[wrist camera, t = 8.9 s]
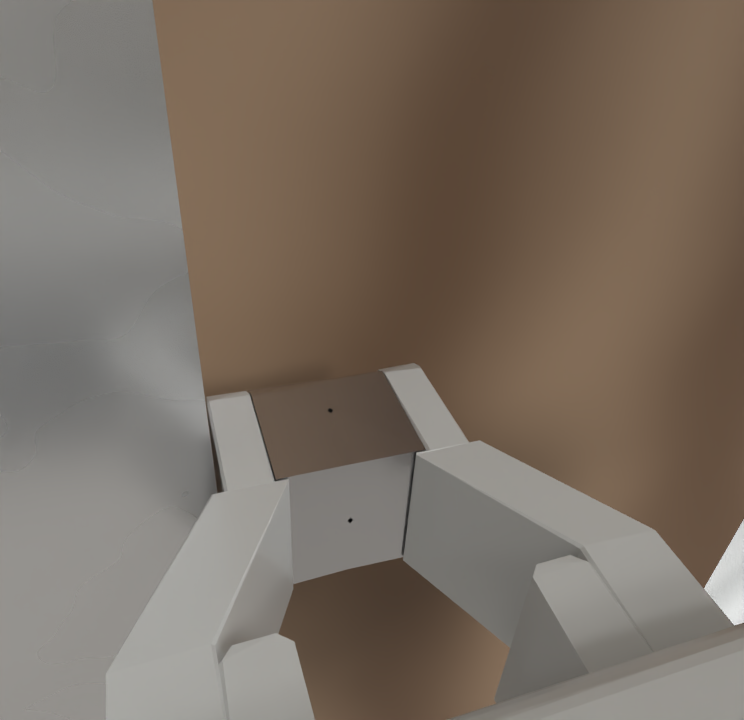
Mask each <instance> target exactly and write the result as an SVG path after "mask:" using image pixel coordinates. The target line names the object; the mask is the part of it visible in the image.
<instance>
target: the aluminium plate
mask: <svg viewBox="0 0 744 720" xmlns="http://www.w3.org/2000/svg"><path fill="white" fill-rule="evenodd" d="M216 493H217V486H216V478H215V471H214V463H213V456H212V448H211V441H210V433H209V425H208V418H207V410H206V403H205V395H204V388H203V380H202V373H201V365H200V357H199V350H198V342H197V335H196V327H195V320H194V312H193V304H192V297H191V289H190V282H189V274H188V267H187V259H186V252H185V244H184V236H183V229H182V221H181V214H180V206H179V199H178V191H177V183H176V176H175V168H174V161H173V153H172V146H171V138H170V131H169V123H168V115H167V108H166V100H165V93H164V85H163V78H162V70H161V63H160V55H159V47H158V40H157V32H156V25H155V17H154V10H153V2H152V0H0V720H106V673H107V671H108V670H109V668H110V666H111V664H112V663H113V661H114V659H115V658H116V656H117V654H118V653H119V651H120V649H121V647H122V646H123V644H124V642H125V641H126V639H127V637H128V636H129V634H130V632H131V631H132V629H133V627H134V625H135V624H136V622H137V620H138V619H139V617H140V615H141V614H142V612H143V610H144V608H145V607H146V605H147V603H148V602H149V600H150V598H151V597H152V595H153V593H154V592H155V590H156V588H157V586H158V585H159V583H160V581H161V580H162V578H163V576H164V575H165V573H166V571H167V569H168V568H169V566H170V564H171V563H172V561H173V559H174V558H175V556H176V554H177V552H178V551H179V549H180V547H181V546H182V544H183V542H184V541H185V539H186V537H187V536H188V534H189V532H190V530H191V529H192V527H193V525H194V524H195V522H196V520H197V519H198V517H199V515H200V513H201V512H202V510H203V508H204V507H205V505H206V503H207V502H208V500H209V498H210V497H211V495H212V494H216Z"/></svg>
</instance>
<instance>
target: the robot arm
mask: <svg viewBox="0 0 744 720" xmlns="http://www.w3.org/2000/svg"><path fill="white" fill-rule="evenodd" d="M206 406H207V414H208V422H209V430H210V438H211V446H212V454H213V462H214V469H215V476H216V483H217V490H218V493H216V494H212V495H211V497H210V498H209V500H208V502H207V503H206V505H205V507H204V508H203V510H202V512H201V513H200V515H199V517H198V519H197V520H196V522H195V524H194V525H193V527H192V529H191V530H190V532H189V534H188V536H187V537H186V539H185V541H184V542H183V544H182V546H181V547H180V549H179V551H178V552H177V554H176V556H175V558H174V559H173V561H172V563H171V564H170V566H169V568H168V569H167V571H166V573H165V575H164V576H163V578H162V580H161V581H160V583H159V585H158V586H157V588H156V590H155V592H154V593H153V595H152V597H151V598H150V600H149V602H148V603H147V605H146V607H145V608H144V610H143V612H142V614H141V615H140V617H139V619H138V620H137V622H136V624H135V625H134V627H133V629H132V631H131V632H130V634H129V636H128V637H127V639H126V641H125V642H124V644H123V646H122V647H121V649H120V651H119V653H118V654H117V656H116V658H115V659H114V661H113V663H112V664H111V666H110V668H109V670H108V671H107V673H106V720H315V718H314V714H313V710H312V706H311V703H310V699H309V695H308V691H307V687H306V684H305V680H304V676H303V672H302V669H301V665H300V661H299V657H298V653H297V650H296V646H295V642H294V641H292V640H290V639H288V638H286V637H283V636H281V635H279V634H278V633H279V630H280V627H281V624H282V621H283V618H284V615H285V612H286V609H287V606H288V603H289V600H290V597H291V594H292V591H293V584H296V583H299V582H303V581H307V580H310V579H314V578H318V577H321V576H325V575H328V574H332V573H336V572H339V571H343V570H347V569H351V568H355V567H360V566H365V565H369V564H374V563H378V562H383V561H388V560H392V559H397V558H401V557H403V561H405V562H406V563H407V564H408V565H409V566H411V567H412V568H413V569H414V570H416V571H417V572H418V573H419V574H420V575H422V576H423V577H424V578H425V579H427V580H428V581H429V582H430V583H431V584H433V585H434V586H435V587H436V588H438V589H439V590H440V591H441V592H442V593H444V594H445V595H446V596H447V597H449V598H450V599H451V600H452V601H453V602H455V603H456V604H457V605H458V606H460V607H461V608H462V609H463V610H464V611H466V612H467V613H468V614H469V615H471V616H472V617H473V618H474V619H475V620H477V621H478V622H479V623H480V624H482V625H483V626H484V627H485V628H486V629H488V630H489V631H490V632H491V633H493V634H494V635H495V636H496V637H497V638H499V639H500V640H501V641H502V642H504V643H505V644H506V645H507V646H508V647H510V650H509V653H508V656H507V660H506V663H505V666H504V669H503V672H502V675H501V679H500V682H499V685H498V688H497V691H496V694H495V698H494V700H495V702H496V704H493V705H490V706H487V707H484V708H481V709H478V710H475V711H471V712H468V713H465V714H462V715H459V716H456V717H453V718H450V719H447V720H744V623H742V624H738V625H735V626H734V625H733V624H732V622H731V621H730V620H729V619H728V618H727V616H726V615H725V614H724V613H723V611H722V610H721V609H720V608H719V607H718V605H717V604H716V603H715V602H714V601H713V599H712V598H711V597H710V596H709V595H708V593H707V592H706V591H705V590H704V588H703V587H702V586H701V585H700V584H699V582H698V581H697V580H696V579H695V578H694V576H693V575H692V574H691V573H690V572H689V570H688V569H687V568H686V567H685V566H684V564H683V563H682V562H681V561H680V559H679V558H678V557H677V556H676V555H675V553H674V552H673V551H672V550H671V549H670V547H669V546H668V545H667V544H666V543H665V541H664V540H663V539H662V538H661V536H660V535H659V534H658V533H657V532H656V530H654V529H652V528H650V527H648V526H646V525H644V524H642V523H640V522H638V521H636V520H634V519H632V518H631V517H629V516H627V515H625V514H623V513H621V512H619V511H617V510H615V509H613V508H611V507H609V506H607V505H605V504H603V503H601V502H599V501H597V500H595V499H593V498H591V497H589V496H588V495H586V494H584V493H582V492H580V491H578V490H576V489H574V488H572V487H570V486H568V485H566V484H564V483H562V482H560V481H558V480H556V479H554V478H552V477H550V476H548V475H546V474H545V473H543V472H541V471H539V470H537V469H535V468H533V467H531V466H529V465H527V464H525V463H523V462H521V461H519V460H517V459H515V458H513V457H511V456H509V455H507V454H505V453H503V452H502V451H500V450H498V449H496V448H494V447H492V446H490V445H488V444H486V443H484V442H482V441H480V440H479V441H474V442H469V441H468V440H467V438H466V437H465V435H464V434H463V432H462V430H461V429H460V427H459V426H458V424H457V423H456V421H455V420H454V418H453V417H452V415H451V413H450V412H449V410H448V409H447V407H446V406H445V404H444V403H443V401H442V400H441V398H440V396H439V395H438V393H437V392H436V390H435V389H434V387H433V386H432V384H431V383H430V381H429V380H428V378H427V376H426V375H425V373H424V372H423V370H422V369H421V367H420V366H418V365H417V364H415V363H411V364H406V365H400V366H395V367H389V368H384V369H379V370H378V371H373V372H367V373H361V374H355V375H349V376H343V377H337V378H331V379H324V380H317V381H309V382H302V383H295V384H288V385H281V386H273V387H266V388H259V389H252V390H248V392H247V391H241V392H234V393H227V394H221V395H214V396H207V397H206Z"/></svg>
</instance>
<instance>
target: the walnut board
mask: <svg viewBox="0 0 744 720" xmlns="http://www.w3.org/2000/svg"><path fill="white" fill-rule="evenodd" d="M152 2H153V10H154V17H155V25H156V32H157V40H158V47H159V55H160V63H161V70H162V78H163V85H164V93H165V100H166V108H167V115H168V123H169V131H170V138H171V146H172V153H173V161H174V168H175V176H176V183H177V191H178V199H179V206H180V214H181V221H182V229H183V236H184V244H185V252H186V259H187V267H188V274H189V282H190V289H191V297H192V304H193V312H194V320H195V327H196V335H197V342H198V350H199V357H200V365H201V373H202V380H203V388H204V395H205V403H206V397H207V396H214V395H221V394H227V393H234V392H241V391H247V392H248V390H252V389H259V388H266V387H273V386H281V385H288V384H295V383H302V382H309V381H317V380H324V379H331V378H337V377H343V376H349V375H355V374H361V373H367V372H373V371H378V370H379V369H384V368H389V367H395V366H400V365H406V364H411V363H415V364H417V365H418V366H420V367H421V369H422V370H423V372H424V373H425V375H426V376H427V378H428V380H429V381H430V383H431V384H432V386H433V387H434V389H435V390H436V392H437V393H438V395H439V396H440V398H441V400H442V401H443V403H444V404H445V406H446V407H447V409H448V410H449V412H450V413H451V415H452V417H453V418H454V420H455V421H456V423H457V424H458V426H459V427H460V429H461V430H462V432H463V434H464V435H465V437H466V438H467V440H468V441H469V442H474V441H479V440H480V441H482V442H484V443H486V444H488V445H490V446H492V447H494V448H496V449H498V450H500V451H502V452H503V453H505V454H507V455H509V456H511V457H513V458H515V459H517V460H519V461H521V462H523V463H525V464H527V465H529V466H531V467H533V468H535V469H537V470H539V471H541V472H543V473H545V474H546V475H548V476H550V477H552V478H554V479H556V480H558V481H560V482H562V483H564V484H566V485H568V486H570V487H572V488H574V489H576V490H578V491H580V492H582V493H584V494H586V495H588V496H589V497H591V498H593V499H595V500H597V501H599V502H601V503H603V504H605V505H607V506H609V507H611V508H613V509H615V510H617V511H619V512H621V513H623V514H625V515H627V516H629V517H631V518H632V519H634V520H636V521H638V522H640V523H642V524H644V525H646V526H648V527H650V528H652V529H654V530H656V532H657V533H658V534H659V535H660V536H661V538H662V539H663V540H664V541H665V543H666V544H667V545H668V546H669V547H670V549H671V550H672V551H673V552H674V553H675V555H676V556H677V557H678V558H679V559H680V561H681V562H682V563H683V564H684V566H685V567H686V568H687V569H688V570H689V572H690V573H691V574H692V575H693V576H694V578H695V579H696V580H697V581H698V582H699V584H700V585H701V586H702V587H703V588H704V587H705V585H706V584H707V582H708V580H709V578H710V577H711V575H712V573H713V571H714V570H715V568H716V566H717V564H718V563H719V561H720V559H721V557H722V556H723V554H724V552H725V550H726V549H727V547H728V545H729V544H730V542H731V540H732V538H733V537H734V535H735V533H736V531H737V530H738V528H739V526H740V524H741V523H742V521H743V519H744V0H152ZM206 410H207V406H206ZM207 418H208V414H207ZM208 425H209V422H208ZM209 433H210V430H209ZM210 441H211V438H210ZM211 448H212V446H211ZM212 456H213V454H212ZM213 463H214V462H213ZM214 471H215V469H214ZM215 478H216V476H215ZM216 486H217V483H216ZM217 493H218V490H217ZM278 634H279V635H281V636H283V637H286V638H288V639H290V640H292V641H294V642H295V646H296V650H297V653H298V657H299V661H300V665H301V669H302V672H303V676H304V680H305V684H306V687H307V691H308V695H309V699H310V703H311V706H312V710H313V714H314V718H315V720H447V719H450V718H453V717H456V716H459V715H462V714H465V713H468V712H471V711H475V710H478V709H481V708H484V707H487V706H490V705H493V704H496V702H495V700H494V698H495V694H496V691H497V688H498V685H499V682H500V679H501V675H502V672H503V669H504V666H505V663H506V660H507V656H508V653H509V650H510V647H508V646H507V645H506V644H505V643H504V642H502V641H501V640H500V639H499V638H497V637H496V636H495V635H494V634H493V633H491V632H490V631H489V630H488V629H486V628H485V627H484V626H483V625H482V624H480V623H479V622H478V621H477V620H475V619H474V618H473V617H472V616H471V615H469V614H468V613H467V612H466V611H464V610H463V609H462V608H461V607H460V606H458V605H457V604H456V603H455V602H453V601H452V600H451V599H450V598H449V597H447V596H446V595H445V594H444V593H442V592H441V591H440V590H439V589H438V588H436V587H435V586H434V585H433V584H431V583H430V582H429V581H428V580H427V579H425V578H424V577H423V576H422V575H420V574H419V573H418V572H417V571H416V570H414V569H413V568H412V567H411V566H409V565H408V564H407V563H406V562H405V561H403V557H401V558H397V559H392V560H388V561H383V562H378V563H374V564H369V565H365V566H360V567H355V568H351V569H347V570H343V571H339V572H336V573H332V574H328V575H325V576H321V577H318V578H314V579H310V580H307V581H303V582H299V583H296V584H293V591H292V594H291V597H290V600H289V603H288V606H287V609H286V612H285V615H284V618H283V621H282V624H281V627H280V630H279V633H278Z"/></svg>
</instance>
